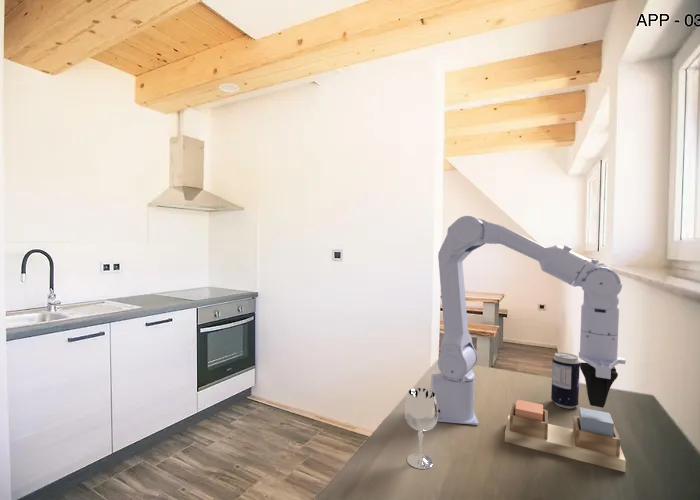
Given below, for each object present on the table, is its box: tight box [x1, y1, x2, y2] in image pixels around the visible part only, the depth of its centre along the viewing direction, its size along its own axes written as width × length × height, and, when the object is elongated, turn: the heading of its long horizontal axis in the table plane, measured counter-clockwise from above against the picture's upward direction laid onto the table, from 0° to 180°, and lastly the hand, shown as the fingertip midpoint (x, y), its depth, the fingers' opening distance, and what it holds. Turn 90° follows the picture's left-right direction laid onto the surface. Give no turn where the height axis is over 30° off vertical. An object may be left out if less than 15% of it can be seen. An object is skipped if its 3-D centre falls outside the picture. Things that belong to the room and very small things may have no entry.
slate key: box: [578, 406, 615, 437], centre depth 68 cm, size 5×5×3 cm
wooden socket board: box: [504, 402, 627, 473], centre depth 71 cm, size 19×8×5 cm, turn 62°
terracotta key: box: [515, 399, 544, 422], centre depth 73 cm, size 5×5×3 cm
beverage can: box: [550, 352, 581, 410], centre depth 89 cm, size 6×6×12 cm
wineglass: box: [404, 387, 438, 470], centre depth 64 cm, size 6×6×12 cm
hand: (596, 405), depth 68 cm, fingers closed
